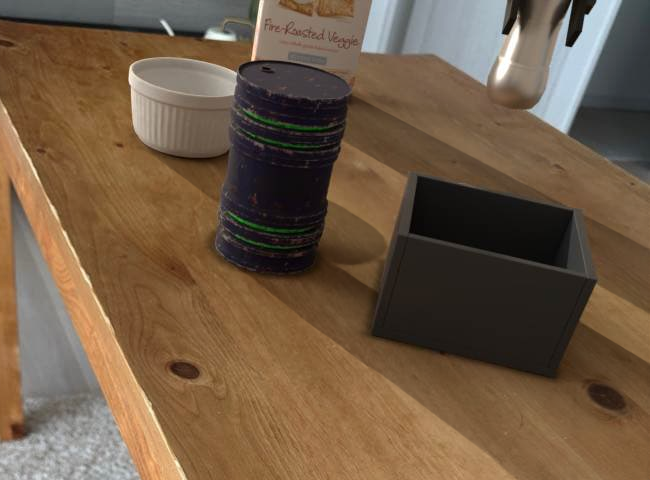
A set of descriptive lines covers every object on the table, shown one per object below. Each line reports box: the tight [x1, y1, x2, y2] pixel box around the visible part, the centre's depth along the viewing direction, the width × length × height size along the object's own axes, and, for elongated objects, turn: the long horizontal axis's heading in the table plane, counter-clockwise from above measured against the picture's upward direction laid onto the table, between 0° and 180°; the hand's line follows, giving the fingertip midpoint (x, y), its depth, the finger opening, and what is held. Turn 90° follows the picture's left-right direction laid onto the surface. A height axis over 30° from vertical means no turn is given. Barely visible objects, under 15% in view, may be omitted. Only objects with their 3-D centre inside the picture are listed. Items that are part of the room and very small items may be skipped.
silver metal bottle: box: [485, 0, 573, 111], centre depth 93 cm, size 6×7×20 cm
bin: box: [370, 170, 598, 378], centre depth 75 cm, size 16×15×9 cm
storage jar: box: [214, 60, 353, 276], centre depth 77 cm, size 10×10×15 cm
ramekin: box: [128, 56, 237, 159], centre depth 97 cm, size 13×13×7 cm
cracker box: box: [250, 0, 373, 94], centre depth 114 cm, size 14×6×21 cm, turn 92°
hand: (541, 32), depth 91 cm, fingers closed on silver metal bottle, 6 cm apart
